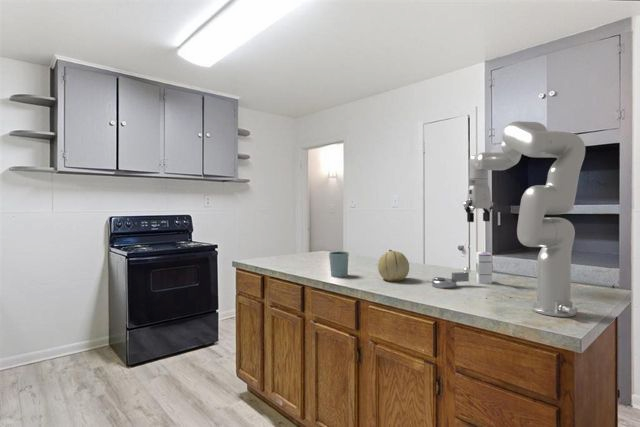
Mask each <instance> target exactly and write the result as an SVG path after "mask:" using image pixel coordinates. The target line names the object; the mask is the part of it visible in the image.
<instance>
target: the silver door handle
mask: <svg viewBox="0 0 640 427" xmlns="http://www.w3.org/2000/svg"><path fill="white" fill-rule="evenodd" d="M470 273H471V268H470V267H467V266H466V267H464V268H463V272H451V278H448V277H447V278H445V277H439V276H436V277H433V278H432V279H431V281H432V282H431V287H432V288H435V289H443V290H450V289H457V283H458V282H459V283H460V282H461V283H462V282H463V283H464V282H469V281H470V280H469V278H470V275H469V274H470Z"/></svg>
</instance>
